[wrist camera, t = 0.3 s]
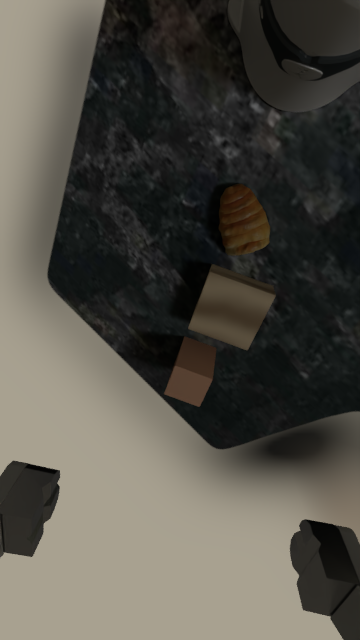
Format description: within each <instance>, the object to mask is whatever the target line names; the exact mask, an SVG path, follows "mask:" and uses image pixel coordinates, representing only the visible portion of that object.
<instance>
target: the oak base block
mask: <svg viewBox="0 0 360 640" xmlns="http://www.w3.org/2000/svg"><path fill="white" fill-rule="evenodd" d="M275 296H276V295H275V291H274V288H273V286H271V285H269V284H266V283H263V282H260V281H258V280H255V279H252V278H249V277H247V276H244V275H241V274H238V273H236V272H233V271H230V270H227V269H225V268H222V267H219V266H216V265H214V264H212V265H211V268H210V271H209V273H208V276H207V278H206V281H205V284H204V286H203V289H202V292H201V294H200V297H199V300H198V302H197V305H196V307H195V310H194V313H193V315H192V318H191V321H190V324H189V328H188V329H190V330H193V331H196V332H199V333H201V334H204V335H207V336H210V337H212V338H215V339H218V340H220V341H223V342H226V343H229V344H231V345H234V346H237V347H240V348H242V349H245V350H248V348H249V346H250V344H251V342H252V341H253V339H254V337H255V335H256V333H257V331H258V329H259V327H260V325H261V323H262V321H263V319H264V317H265V315H266V313H267V312H268V310H269V308H270V306H271V304H272V302H273V300H274V298H275Z"/></svg>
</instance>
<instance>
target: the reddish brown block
mask: <svg viewBox="0 0 360 640" xmlns="http://www.w3.org/2000/svg"><path fill="white" fill-rule="evenodd" d="M215 355H216V348H215V347H212V346H209V345H207V344H204V343H201V342H198V341H196V340H193V339H190V338H187V337H185V336H184V339H183V342H182V344H181V347H180V350H179V352H178V355H177V358H176V360H175V363H174V366H173V369H172V372H171V375H170V378H169V381H168V384H167V387H166V390H165V393H164V394H166V395H168V396H171V397H174V398H176V399H179V400H182V401H185V402H187V403H190V404H193V405H196V406H198V407H200V405H201V403H202V401H203V398H204V396H205V394H206V392H207V390H208V388H209V386H210V384H211V382H212V380H213V372H214V364H215Z"/></svg>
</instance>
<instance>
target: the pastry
mask: <svg viewBox="0 0 360 640" xmlns="http://www.w3.org/2000/svg"><path fill="white" fill-rule="evenodd" d="M219 218H220V224H219V231H220V232H221V235H222V239H223V245H224V247H225V249H226V253H227V254H228V255H231V256H235V255H242V254H248V253H252V252H254V251H256V250H260V249H262V248H264V247H265V246H266V245H268V243H269V234H270V226H269V224H268V221H267V218H266V213H265V211H264V210H263V208H262V206H261V205H260V203H259V202H258V200H257V198H256V196H255V195H254V194H253V192H252V191H251V189H249V188H247V187H246V186H244V185H242V184H236V185H233V186H230V187H228V188H226V189H225V191H224V193H223V194H222V196H221V198H220V209H219Z"/></svg>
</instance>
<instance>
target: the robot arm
mask: <svg viewBox="0 0 360 640" xmlns="http://www.w3.org/2000/svg"><path fill="white" fill-rule="evenodd" d="M227 15H228V19H229V22H230V24H231V26H232V28H233V30H234V31H235V33H236V35H237V36H238V38H239V40H240V43H241V48H242V55H243V61H244V66H245V70H246V73H247V76H248V78H249V81H250V83H251V85H252V86H253V88H254V90H255V91H256V92H257V94H258V95H259V96H260V97H261V98H262V99H263V100H264V101H265V102H267V103H268V104H270V105H271V106H273V107H275V108H277V109H280V110H283V111H287V112H306V111H310V110H314V109H317V108H320V107H322V106H324V105H326V104H328V103H330V102H331V101H333V100H334V99H336V98H337V97H339V96H340V95H341V94H342V93H344V92H345V91H346V90H347V89H348V88H350V87H351V86H352V85H354V84H355V83H357V82H358V81H360V0H229V3H228V8H227ZM59 478H60V471H59V470H55V469H50V468H46V467H41V466H36V465H31V464H28V463H23V462H18V461H12V462H11V463H10V464H9V465H8V466H7V467H6V469H5V470H4V472H3V473H2V475H1V476H0V557H1V556H2V555H3V554H4V552H6V553H12V554H18V555H24V556H30V557H32V556H33V554H34V552H35V550H36V548H37V546H38V544H39V541H40V539H41V537H42V535H43V524H44V523H45V522H46V521H47V520H49V519H50V518H51V515H52V513H53V511H54V509H55V506H56V503H57V500H58V495H59V485H58V484H57V482H58V480H59ZM299 527H300V530H301V531H299V532H296V533H294V535H293V537H292V539H291V545H290V554H291V561H292V565H293V567H294V569H295V570H296V571H297V573H298V574H299V578H298V581H297V587H298V591H299V595H300V599H301V603H302V608H303V610H305V611H310V612H313V613H318V614H322V615H327V616H331V620H332V622H333V623H334V625H335V627H336V628H337V630H338V632H339V633H340V635H341V636H342V638H343V639H344V640H360V544H359V542H358V539H357V537H356V535H355V533H354V532H353V530H352V529H350V528H347V527H342V526H336V525H333V524H328V523H323V522H317V521H311V520H302V521H301V523H300V525H299Z"/></svg>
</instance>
